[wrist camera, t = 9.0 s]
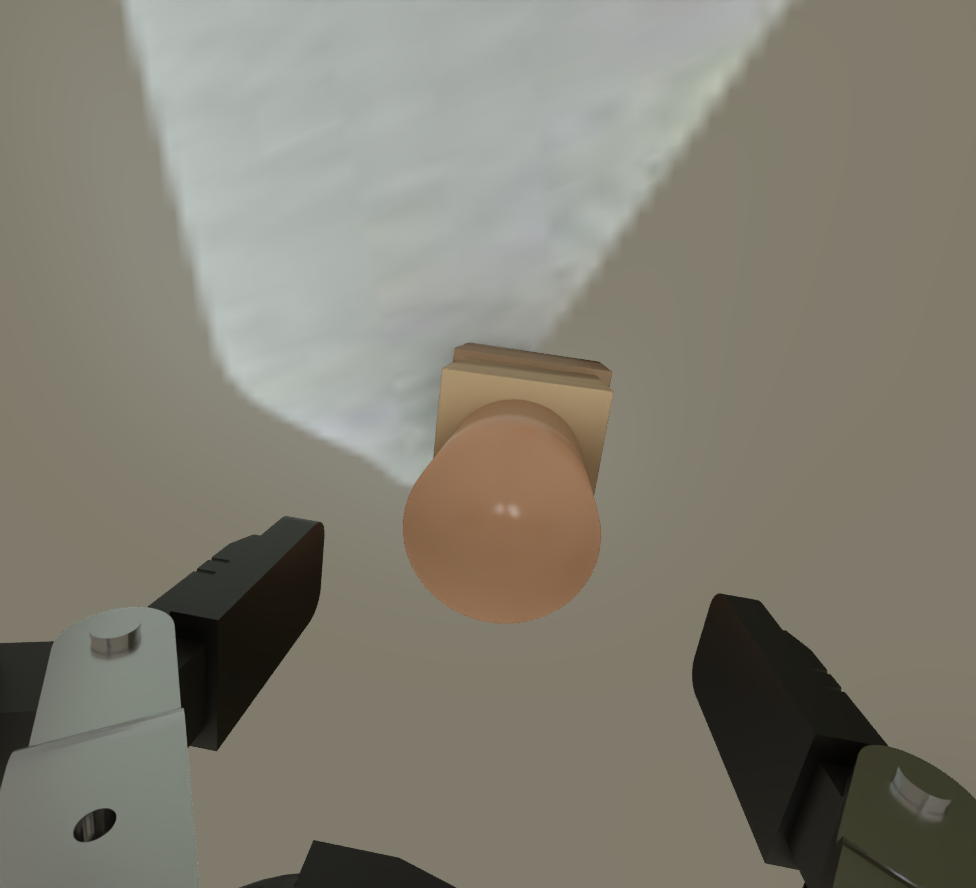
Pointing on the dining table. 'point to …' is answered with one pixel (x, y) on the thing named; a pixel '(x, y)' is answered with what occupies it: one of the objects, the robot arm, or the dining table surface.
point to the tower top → (560, 391)
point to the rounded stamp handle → (504, 516)
